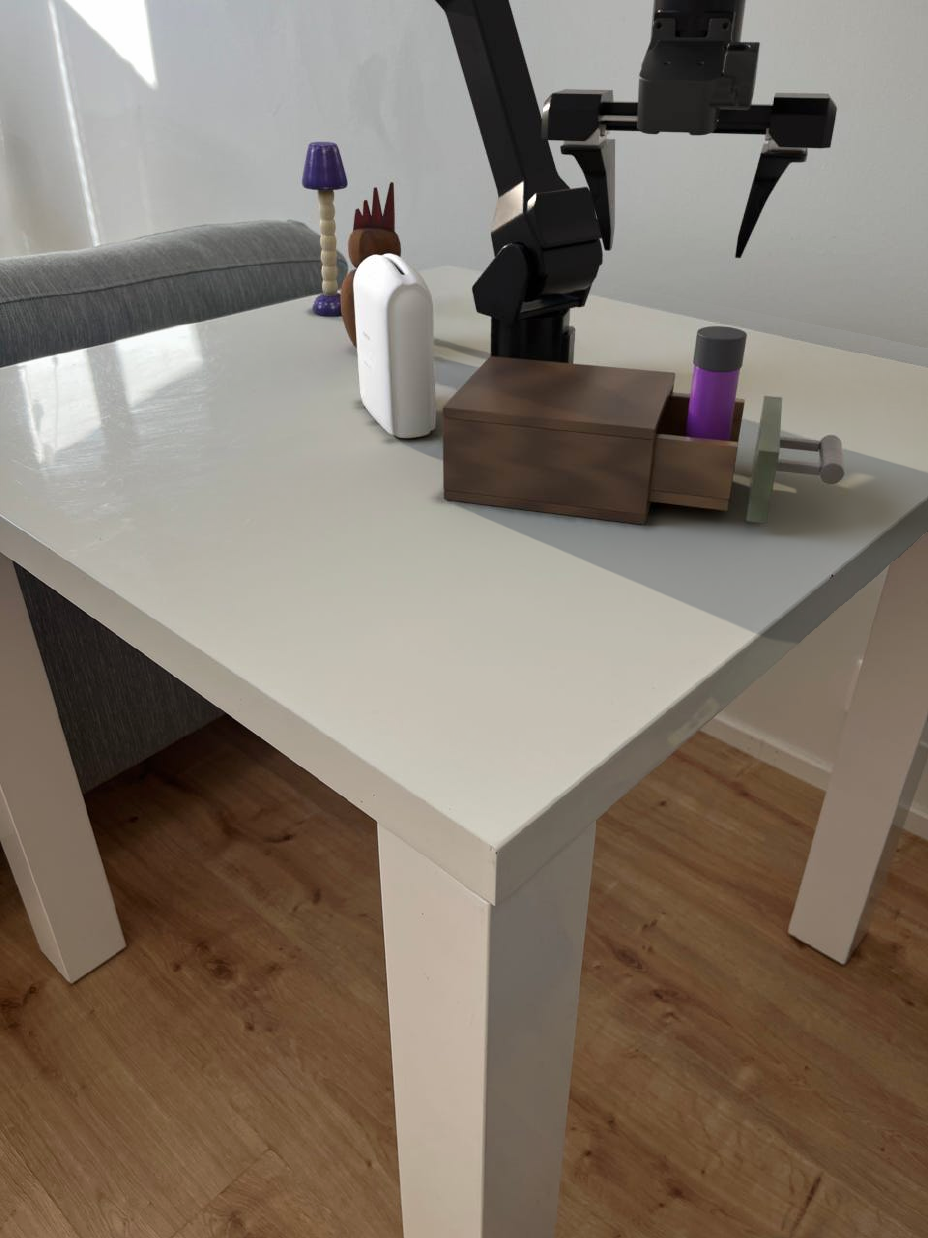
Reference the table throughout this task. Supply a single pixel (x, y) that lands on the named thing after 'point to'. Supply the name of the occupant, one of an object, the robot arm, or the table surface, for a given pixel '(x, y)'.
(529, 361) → the cabinet
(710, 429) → the glue stick
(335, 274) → the toy lamp
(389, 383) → the photo printer
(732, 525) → the table surface
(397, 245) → the wooden figurine
